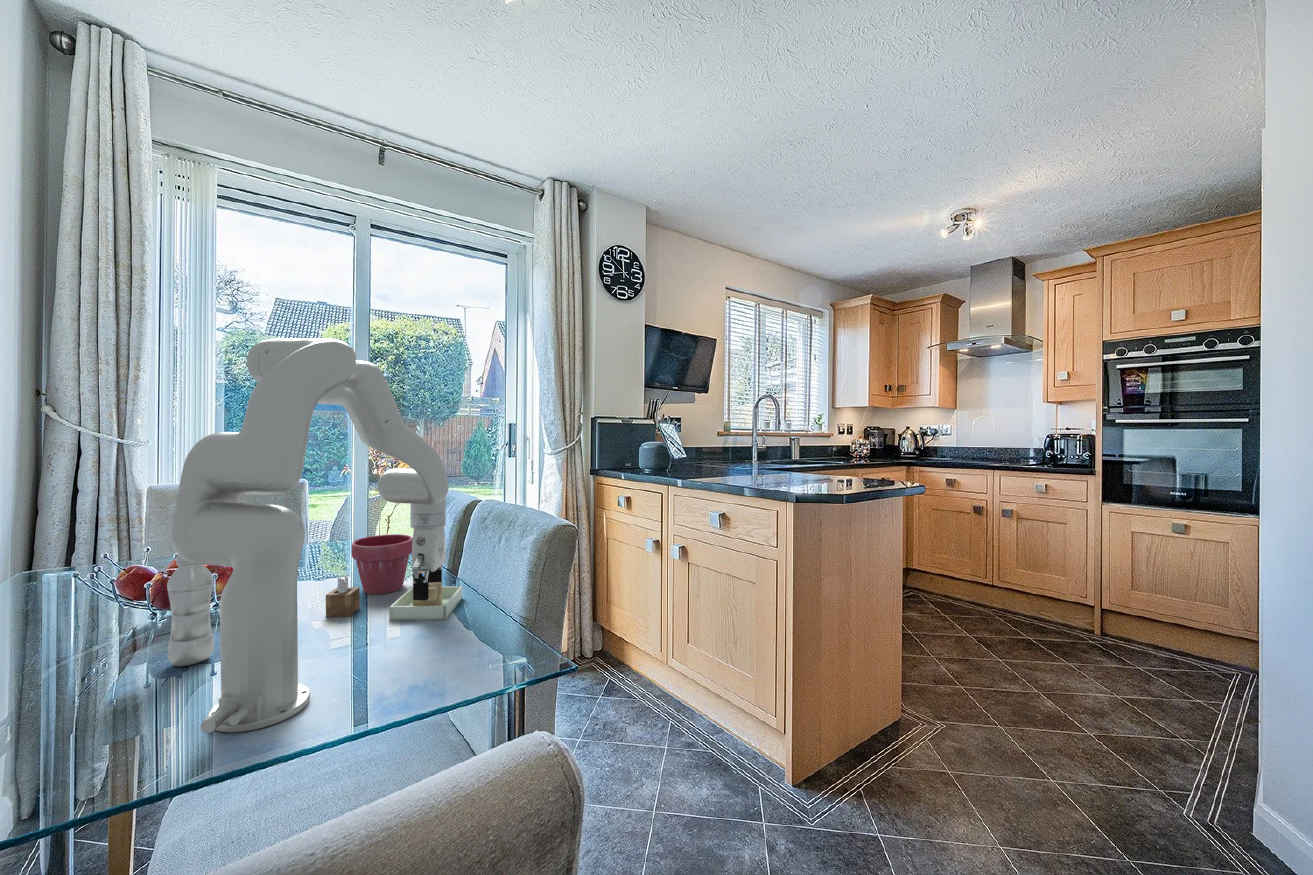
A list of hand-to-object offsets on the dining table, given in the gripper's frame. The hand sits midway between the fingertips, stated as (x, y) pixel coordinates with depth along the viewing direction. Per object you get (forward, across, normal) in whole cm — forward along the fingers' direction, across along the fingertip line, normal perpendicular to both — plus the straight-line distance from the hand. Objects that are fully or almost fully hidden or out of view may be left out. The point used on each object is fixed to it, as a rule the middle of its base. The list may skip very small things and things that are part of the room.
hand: (428, 592), depth 127 cm
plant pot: (+4, +15, +16) cm, 22 cm away
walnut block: (+4, -2, +18) cm, 19 cm away
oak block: (+3, 0, 0) cm, 3 cm away
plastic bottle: (+4, -26, +33) cm, 42 cm away
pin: (+4, -2, +18) cm, 19 cm away
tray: (+4, 0, 0) cm, 4 cm away
